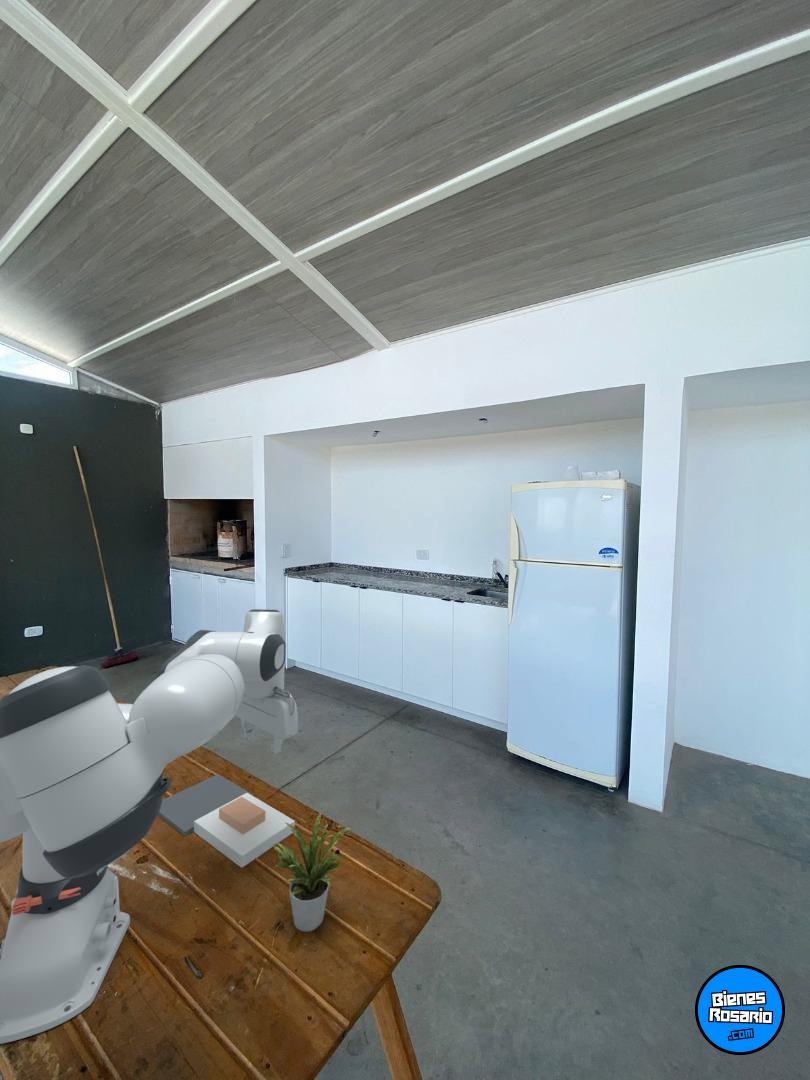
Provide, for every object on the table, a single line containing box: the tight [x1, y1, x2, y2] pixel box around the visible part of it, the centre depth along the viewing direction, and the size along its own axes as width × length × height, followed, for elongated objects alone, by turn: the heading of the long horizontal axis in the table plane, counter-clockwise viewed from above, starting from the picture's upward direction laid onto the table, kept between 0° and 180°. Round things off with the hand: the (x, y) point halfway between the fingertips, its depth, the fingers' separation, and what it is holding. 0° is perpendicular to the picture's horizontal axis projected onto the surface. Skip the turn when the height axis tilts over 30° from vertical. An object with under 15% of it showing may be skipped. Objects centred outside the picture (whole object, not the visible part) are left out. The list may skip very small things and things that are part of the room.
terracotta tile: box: [219, 797, 266, 834], centre depth 104 cm, size 9×6×2 cm, turn 55°
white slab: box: [193, 793, 296, 868], centre depth 103 cm, size 18×14×2 cm
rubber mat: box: [157, 773, 254, 837], centre depth 113 cm, size 16×18×1 cm
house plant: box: [272, 811, 354, 933], centre depth 82 cm, size 14×14×16 cm
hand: (262, 745), depth 98 cm, fingers open, 8 cm apart
